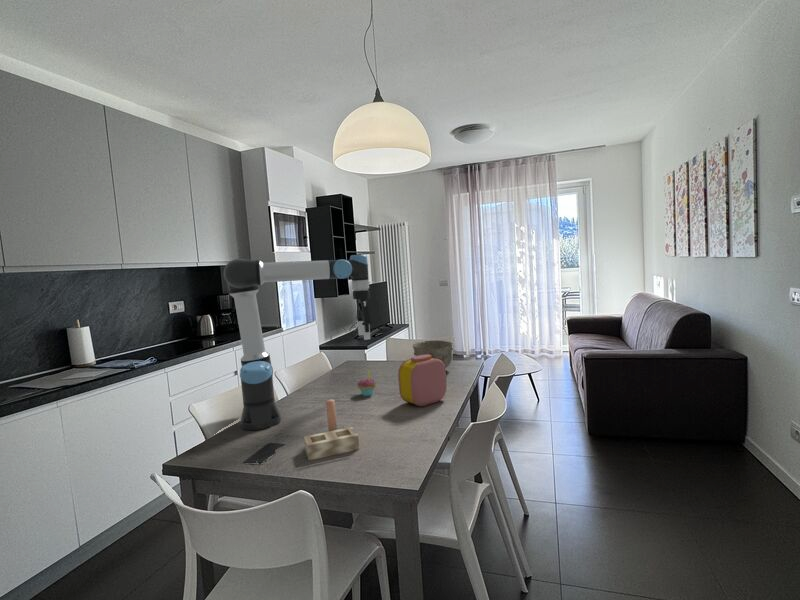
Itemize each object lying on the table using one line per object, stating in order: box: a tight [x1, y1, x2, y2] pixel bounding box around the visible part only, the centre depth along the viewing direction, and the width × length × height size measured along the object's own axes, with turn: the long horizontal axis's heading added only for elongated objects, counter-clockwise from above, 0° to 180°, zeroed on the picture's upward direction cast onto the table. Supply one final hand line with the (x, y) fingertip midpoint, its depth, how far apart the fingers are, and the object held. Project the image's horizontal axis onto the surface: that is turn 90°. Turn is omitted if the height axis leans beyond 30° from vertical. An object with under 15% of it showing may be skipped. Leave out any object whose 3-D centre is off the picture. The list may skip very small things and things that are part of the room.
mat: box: [316, 426, 345, 434], centre depth 152 cm, size 10×10×1 cm
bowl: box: [412, 339, 454, 370], centre depth 230 cm, size 22×22×15 cm
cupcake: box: [357, 368, 377, 397], centre depth 197 cm, size 9×8×12 cm
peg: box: [325, 398, 338, 431], centre depth 152 cm, size 3×3×12 cm
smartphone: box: [242, 442, 286, 464], centre depth 140 cm, size 7×1×15 cm
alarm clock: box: [397, 354, 448, 407], centre depth 181 cm, size 18×11×19 cm, turn 126°
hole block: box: [303, 426, 360, 461], centre depth 139 cm, size 16×8×5 cm, turn 110°
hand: (364, 337), depth 193 cm, fingers open, 13 cm apart
